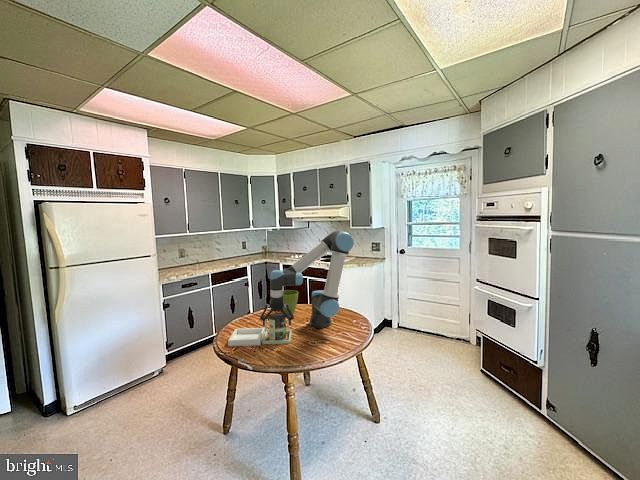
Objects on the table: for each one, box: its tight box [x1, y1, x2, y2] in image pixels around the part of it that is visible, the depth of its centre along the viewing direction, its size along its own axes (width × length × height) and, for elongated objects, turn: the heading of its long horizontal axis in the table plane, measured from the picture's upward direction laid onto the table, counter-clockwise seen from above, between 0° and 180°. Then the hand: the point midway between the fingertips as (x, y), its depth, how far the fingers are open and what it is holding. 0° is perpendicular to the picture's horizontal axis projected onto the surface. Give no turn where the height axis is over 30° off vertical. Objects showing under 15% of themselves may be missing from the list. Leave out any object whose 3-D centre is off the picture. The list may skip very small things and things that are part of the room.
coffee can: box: [268, 312, 287, 341], centre depth 181 cm, size 10×10×14 cm
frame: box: [261, 329, 293, 345], centre depth 181 cm, size 16×16×2 cm
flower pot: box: [283, 289, 299, 315], centre depth 227 cm, size 15×15×16 cm
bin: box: [227, 327, 266, 347], centre depth 179 cm, size 18×18×4 cm
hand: (277, 330), depth 181 cm, fingers open, 13 cm apart
